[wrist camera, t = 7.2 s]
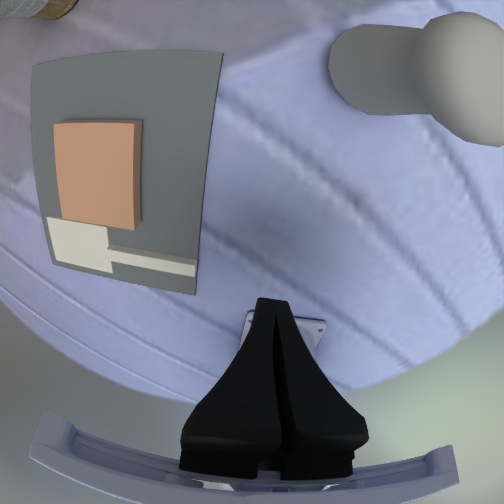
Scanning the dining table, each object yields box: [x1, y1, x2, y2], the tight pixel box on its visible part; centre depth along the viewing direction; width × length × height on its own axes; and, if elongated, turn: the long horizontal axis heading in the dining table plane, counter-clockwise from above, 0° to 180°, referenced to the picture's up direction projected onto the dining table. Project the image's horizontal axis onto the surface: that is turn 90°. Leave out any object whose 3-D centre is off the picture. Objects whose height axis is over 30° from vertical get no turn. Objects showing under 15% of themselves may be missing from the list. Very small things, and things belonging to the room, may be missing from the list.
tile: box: [54, 119, 142, 231], centre depth 18 cm, size 8×2×7 cm
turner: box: [47, 215, 197, 277], centre depth 23 cm, size 15×5×1 cm, turn 80°
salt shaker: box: [328, 11, 504, 147], centre depth 9 cm, size 6×6×13 cm
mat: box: [31, 50, 223, 296], centre depth 20 cm, size 20×16×1 cm
